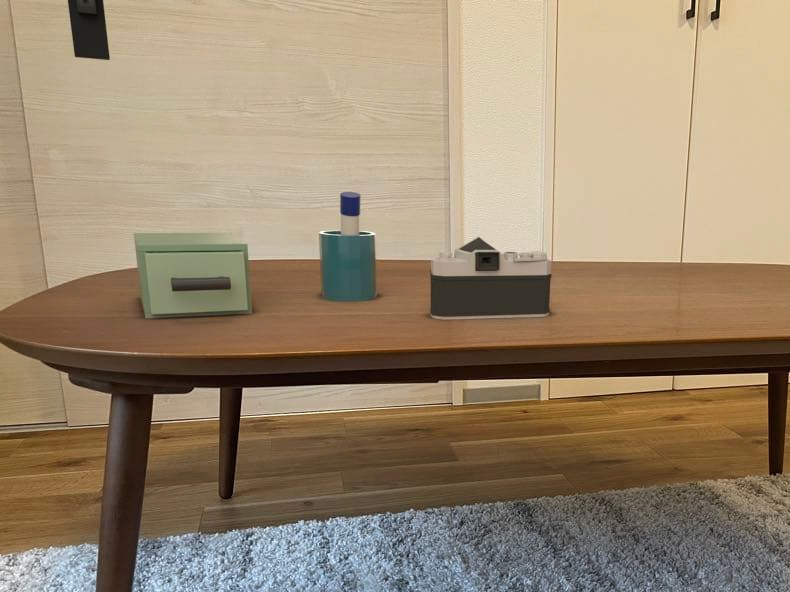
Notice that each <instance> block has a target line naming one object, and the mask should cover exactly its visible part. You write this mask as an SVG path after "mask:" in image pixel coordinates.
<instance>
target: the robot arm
mask: <svg viewBox="0 0 790 592" xmlns="http://www.w3.org/2000/svg"><path fill="white" fill-rule="evenodd" d="M67 6H68V14H69V21H70V31H71V37H72V38H71V39H72V45H73V54H74V58H80V59H90V60H91V59H92V60H102V61H110V60H111V57H110V49H109V48H110V47H109V39H108V34H107V33H108V32H107V23H106V12H105V5H104V0H67Z"/></svg>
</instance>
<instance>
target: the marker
mask: <svg viewBox="0 0 790 592" xmlns="http://www.w3.org/2000/svg"><path fill="white" fill-rule="evenodd" d="M339 195H340V196H339V198H340V199H339V205H340V206H339V212H340V231H341V235H359V231H360V228H361V227H360V226H361V224H360V222H361V220H360V219H361V217H360V216H361V211H362V210H361V205H362V202H361V201H362V195H361V194H360V193H358V192H356V191H355V192H354V191H343V192H340V194H339Z"/></svg>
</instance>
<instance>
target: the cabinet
mask: <svg viewBox="0 0 790 592" xmlns="http://www.w3.org/2000/svg"><path fill="white" fill-rule="evenodd" d="M133 238H134V247H135V257H136V265H137V266H136V267H137V274H138V283H139V293H140V300H141V305H142V310H143V313H144V317H145V319H159V318H181V317H182V318H185V317H202V316H204V317H205V316H226V315H245V314H246V315H247V314H253V305H252V291H251V277H250V263H249V251H248V250H249V249H248V248H249V247H248V243H246V242H245V241H243V240H242V239H241V238H239V237H238V236H237V235H235V234H234V233H232V232H133ZM166 251H234V252H243V253H244V259H245V274H246V288H247V302H248V310H241V311H219V312H197V313H175V314H153V315H152V314H151V309H150V300H149V291H148V282H147V272H146V263H145V253H148V252H166Z"/></svg>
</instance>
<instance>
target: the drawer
mask: <svg viewBox="0 0 790 592" xmlns="http://www.w3.org/2000/svg"><path fill="white" fill-rule="evenodd" d="M145 263H146V272H147V282H148V291H149V300H150V309H151V314H152V315H153V314H175V313H197V312H219V311H241V310H248V302H247V288H246V274H245V259H244V253H243V252H234V251H166V252H148V253H145Z"/></svg>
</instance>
